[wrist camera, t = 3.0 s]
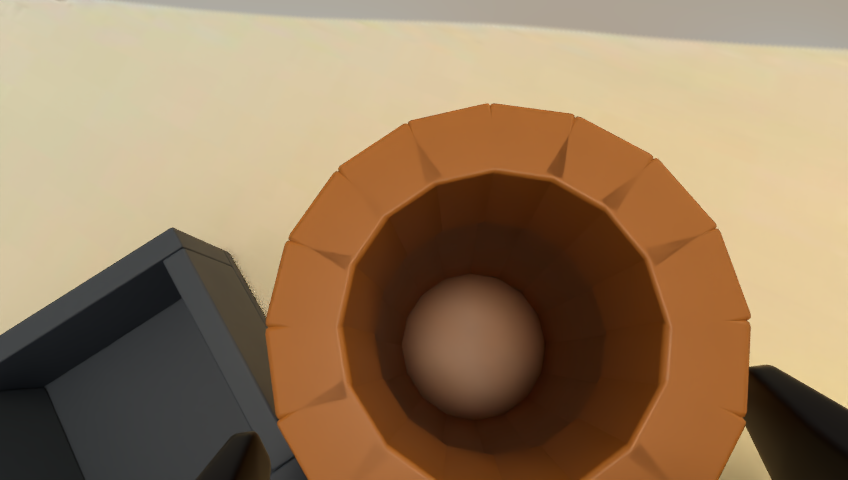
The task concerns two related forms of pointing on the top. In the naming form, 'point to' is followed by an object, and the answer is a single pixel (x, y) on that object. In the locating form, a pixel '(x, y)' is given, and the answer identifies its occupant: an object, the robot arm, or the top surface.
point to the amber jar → (507, 311)
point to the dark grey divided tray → (140, 372)
